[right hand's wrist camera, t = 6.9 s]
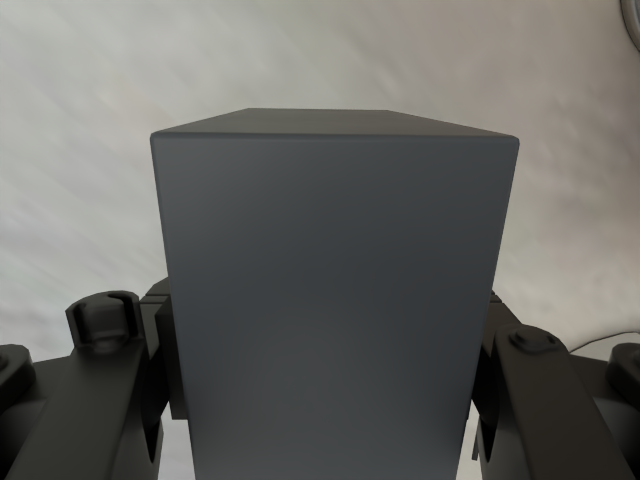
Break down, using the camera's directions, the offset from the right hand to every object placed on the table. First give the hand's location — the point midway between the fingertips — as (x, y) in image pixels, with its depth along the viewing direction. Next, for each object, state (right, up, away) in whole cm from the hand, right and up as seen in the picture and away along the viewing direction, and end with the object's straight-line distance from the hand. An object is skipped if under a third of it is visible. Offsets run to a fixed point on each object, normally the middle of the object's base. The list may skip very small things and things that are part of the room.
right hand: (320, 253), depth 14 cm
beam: (0, -19, +8) cm, 21 cm away
